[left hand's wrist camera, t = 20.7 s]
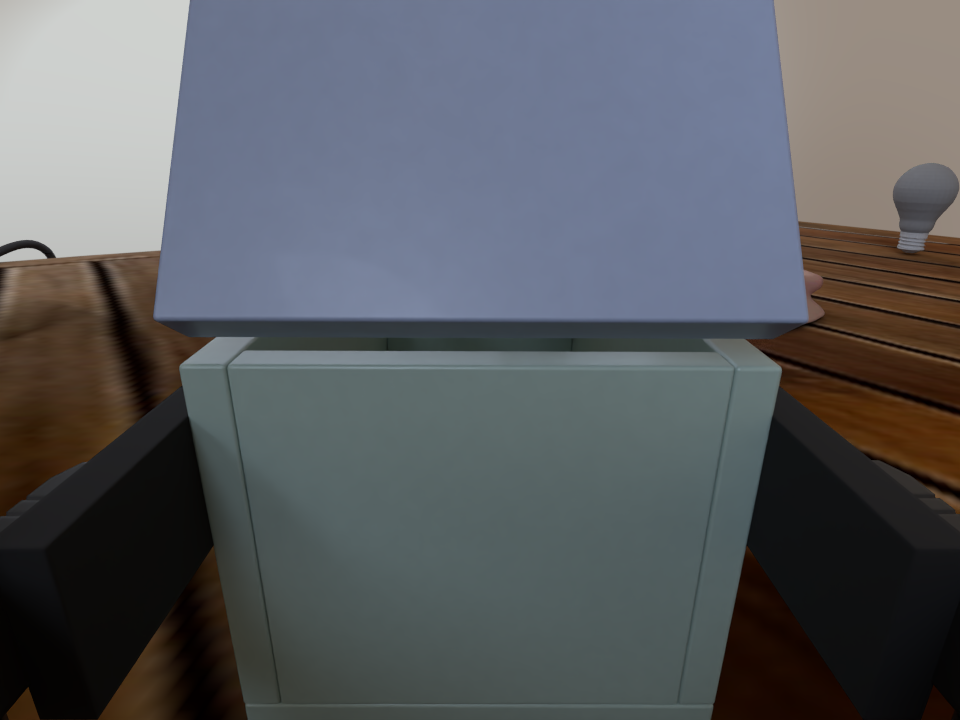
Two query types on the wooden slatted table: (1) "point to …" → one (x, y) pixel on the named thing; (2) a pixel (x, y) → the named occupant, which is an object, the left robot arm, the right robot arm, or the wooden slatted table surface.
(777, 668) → the wooden slatted table surface
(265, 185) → the lid
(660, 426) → the chest
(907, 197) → the light bulb
